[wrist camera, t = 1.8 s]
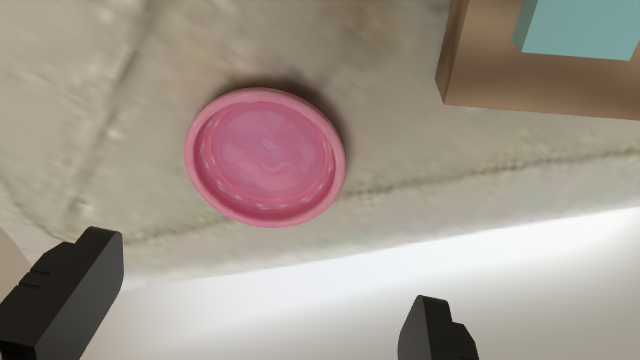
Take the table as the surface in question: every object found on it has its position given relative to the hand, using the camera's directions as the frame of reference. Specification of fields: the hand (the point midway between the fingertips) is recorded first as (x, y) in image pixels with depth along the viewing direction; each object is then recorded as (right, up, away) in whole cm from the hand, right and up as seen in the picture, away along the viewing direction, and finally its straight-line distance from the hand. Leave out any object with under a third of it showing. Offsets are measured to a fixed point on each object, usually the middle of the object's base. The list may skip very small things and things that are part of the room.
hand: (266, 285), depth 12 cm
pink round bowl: (-3, +6, +25) cm, 26 cm away
